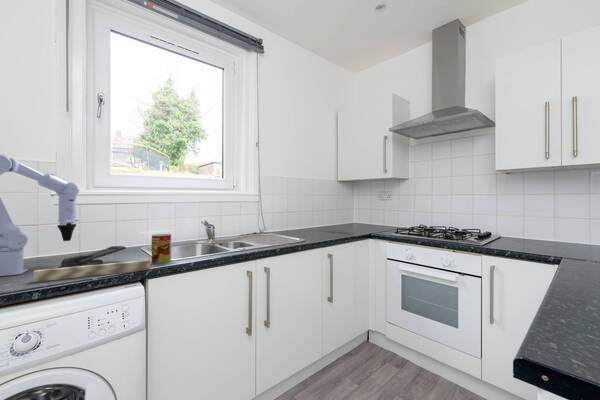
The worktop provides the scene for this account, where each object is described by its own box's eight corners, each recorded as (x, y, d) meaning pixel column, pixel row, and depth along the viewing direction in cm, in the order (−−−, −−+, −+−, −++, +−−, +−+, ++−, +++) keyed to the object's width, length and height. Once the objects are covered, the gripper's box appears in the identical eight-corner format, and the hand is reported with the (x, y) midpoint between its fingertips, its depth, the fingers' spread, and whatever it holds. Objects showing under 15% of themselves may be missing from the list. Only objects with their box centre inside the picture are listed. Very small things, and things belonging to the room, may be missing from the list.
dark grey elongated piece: (128, 246, 126) (71, 256, 101) (128, 260, 126) (71, 274, 101) (112, 245, 128) (53, 255, 103) (112, 259, 128) (53, 273, 103)
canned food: (149, 261, 124) (149, 234, 124) (168, 258, 129) (168, 233, 129) (154, 263, 118) (154, 236, 118) (173, 261, 123) (173, 234, 123)
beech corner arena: (33, 282, 91) (33, 271, 91) (46, 273, 102) (46, 264, 102) (150, 269, 107) (150, 260, 107) (149, 263, 119) (149, 255, 119)
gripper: (74, 210, 116) (74, 242, 116) (82, 209, 129) (82, 238, 129) (53, 210, 113) (52, 243, 112) (62, 209, 125) (62, 239, 125)
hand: (67, 240), depth 120 cm, fingers closed
